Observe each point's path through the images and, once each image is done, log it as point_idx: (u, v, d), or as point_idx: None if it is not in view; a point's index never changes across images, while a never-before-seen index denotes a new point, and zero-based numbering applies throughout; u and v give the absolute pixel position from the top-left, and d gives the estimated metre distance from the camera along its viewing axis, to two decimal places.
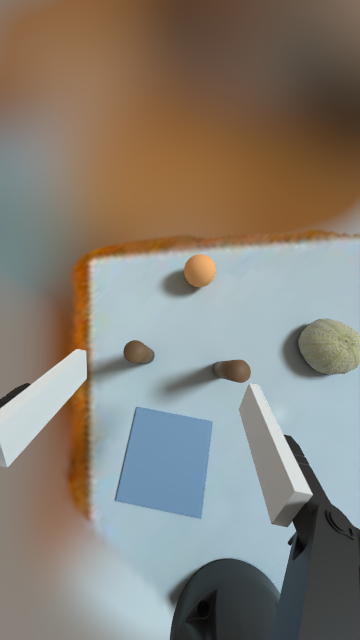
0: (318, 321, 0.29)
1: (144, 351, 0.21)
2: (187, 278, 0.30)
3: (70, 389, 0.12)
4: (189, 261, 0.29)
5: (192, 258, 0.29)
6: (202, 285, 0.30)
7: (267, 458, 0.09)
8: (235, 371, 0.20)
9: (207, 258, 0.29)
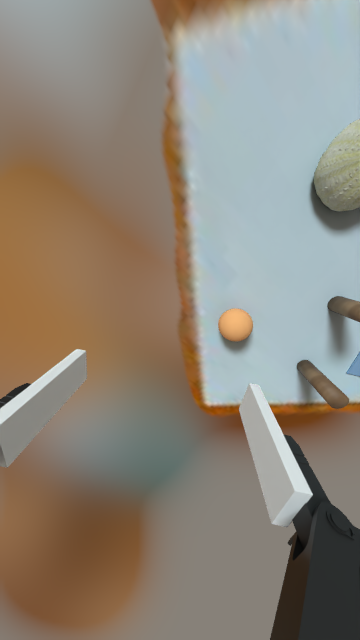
0: (323, 182, 0.22)
1: (341, 395, 0.25)
2: None
3: (70, 389, 0.12)
4: (231, 339, 0.28)
5: (229, 337, 0.28)
6: None
7: (267, 458, 0.09)
8: None
9: (232, 324, 0.27)
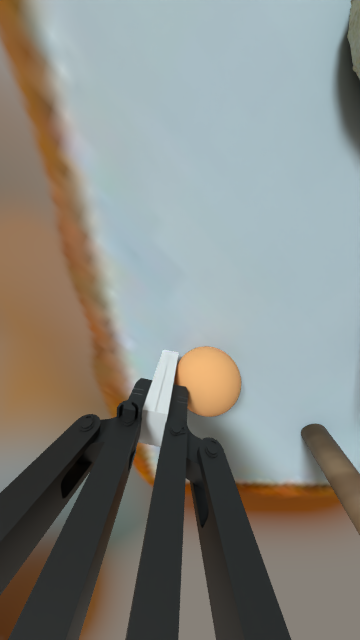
0: None
1: None
2: None
3: None
4: (207, 415, 0.14)
5: (204, 415, 0.13)
6: None
7: None
8: None
9: (211, 395, 0.12)
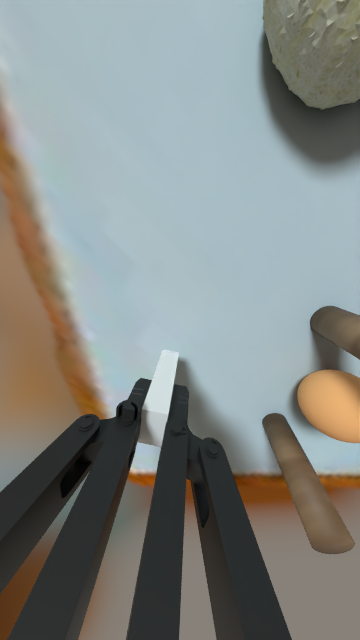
0: None
1: (338, 534, 0.11)
2: None
3: None
4: (323, 432, 0.14)
5: (318, 427, 0.14)
6: None
7: None
8: None
9: (330, 406, 0.13)
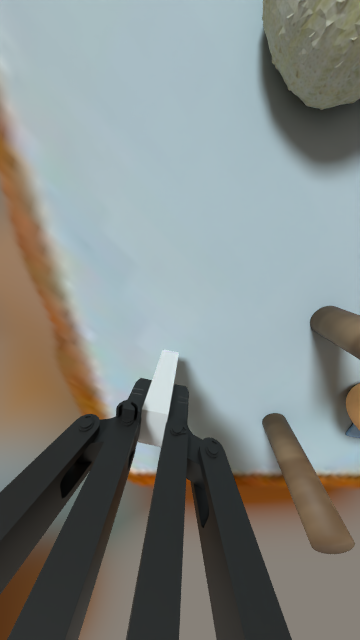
0: None
1: (338, 534, 0.11)
2: None
3: None
4: None
5: None
6: None
7: None
8: None
9: None
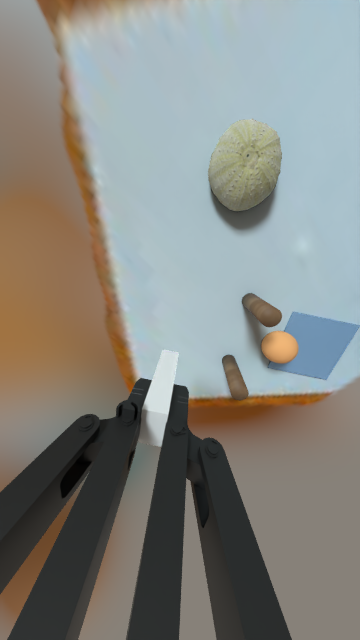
0: (212, 181, 0.23)
1: (241, 387, 0.26)
2: None
3: None
4: None
5: (288, 361, 0.29)
6: None
7: None
8: (270, 321, 0.22)
9: (297, 350, 0.28)
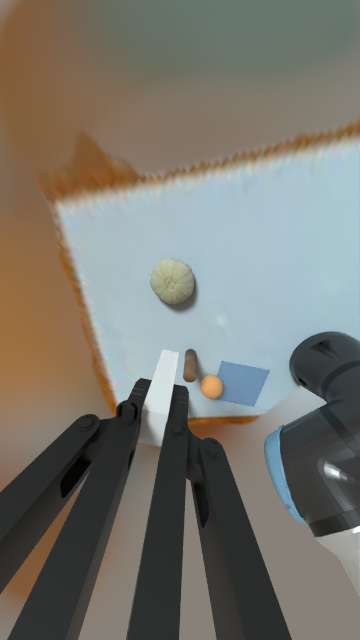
0: (153, 290, 0.36)
1: None
2: None
3: None
4: None
5: (216, 397, 0.42)
6: None
7: None
8: (189, 379, 0.35)
9: (220, 391, 0.41)
